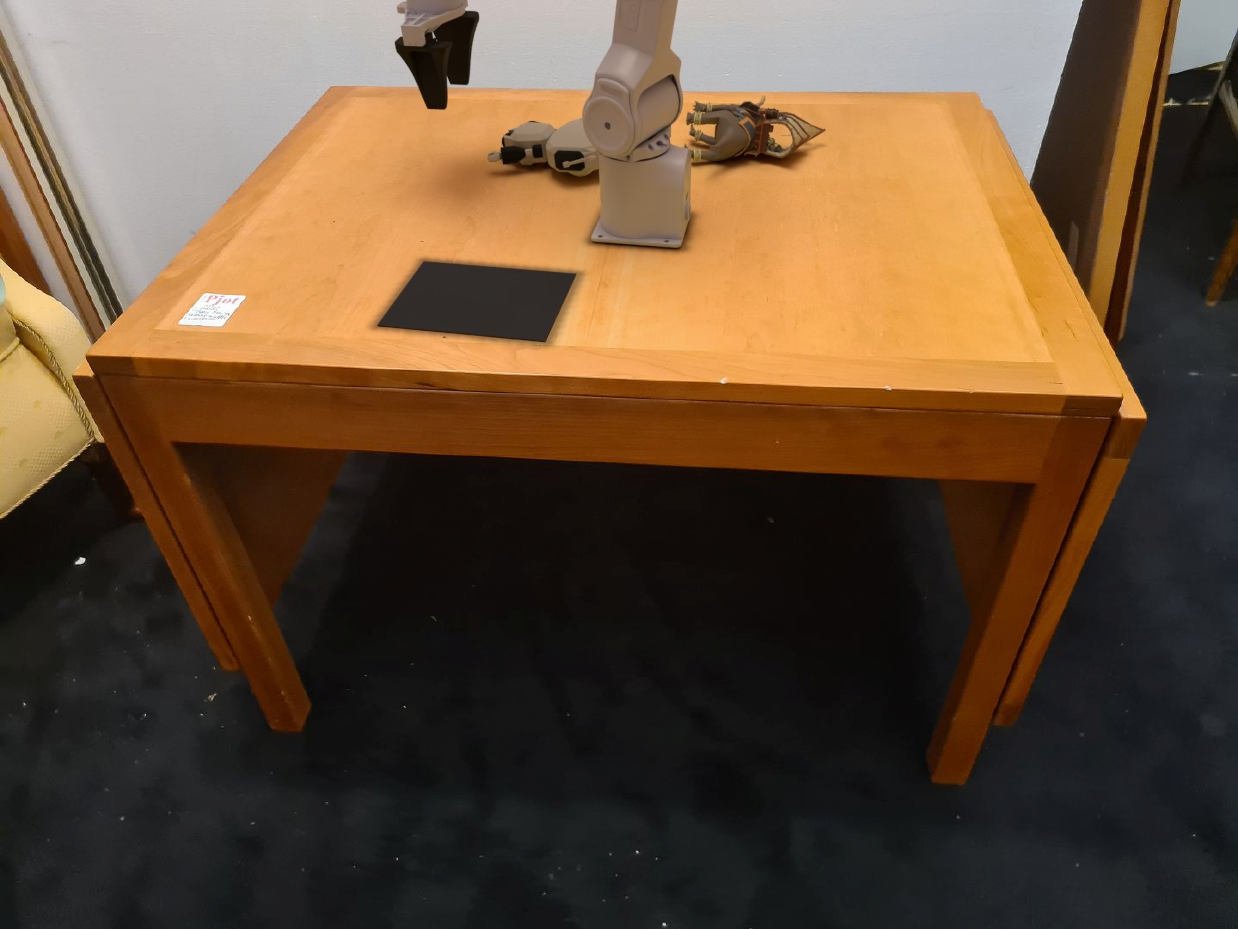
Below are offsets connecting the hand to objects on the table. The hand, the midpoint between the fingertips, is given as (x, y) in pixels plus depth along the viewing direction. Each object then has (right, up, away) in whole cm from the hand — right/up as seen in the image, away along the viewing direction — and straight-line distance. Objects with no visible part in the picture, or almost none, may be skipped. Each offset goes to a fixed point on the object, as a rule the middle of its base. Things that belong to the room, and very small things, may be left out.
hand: (448, 95), depth 96 cm
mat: (+6, -25, -13) cm, 29 cm away
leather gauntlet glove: (+36, -2, +11) cm, 37 cm away
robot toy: (+12, -4, +10) cm, 16 cm away
